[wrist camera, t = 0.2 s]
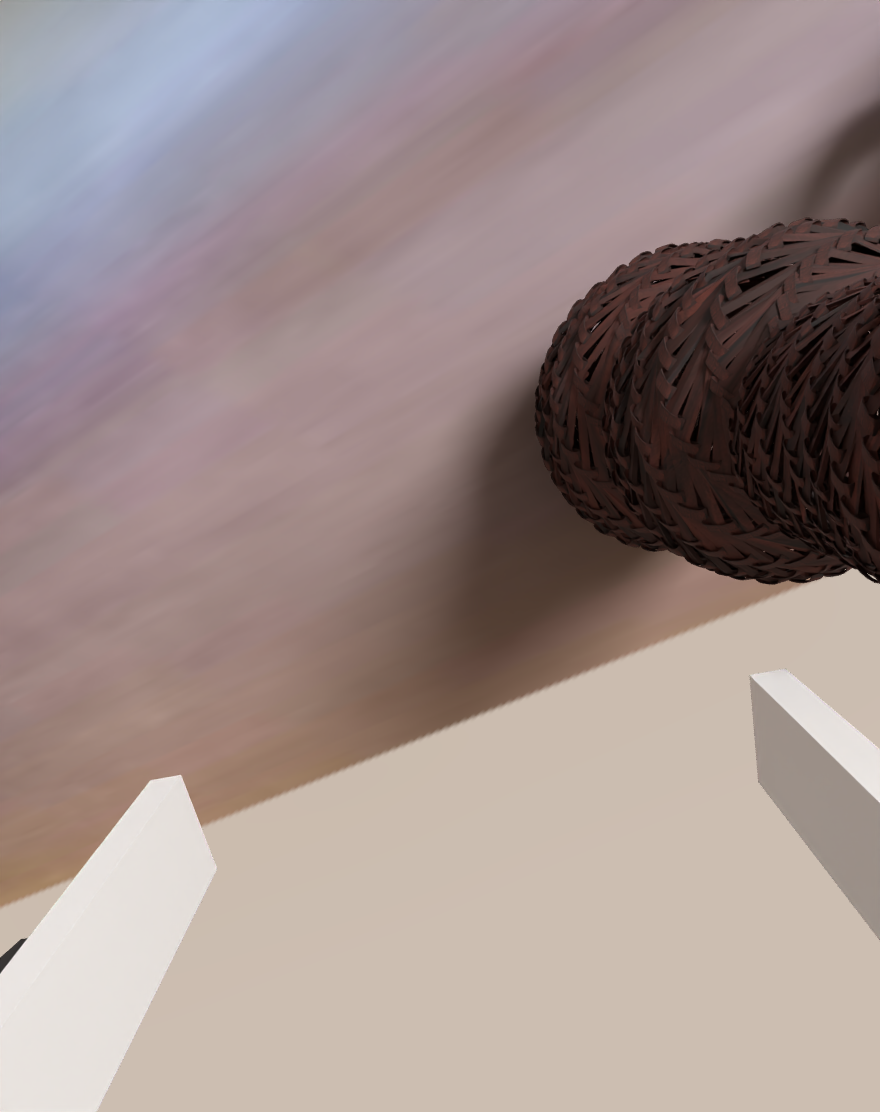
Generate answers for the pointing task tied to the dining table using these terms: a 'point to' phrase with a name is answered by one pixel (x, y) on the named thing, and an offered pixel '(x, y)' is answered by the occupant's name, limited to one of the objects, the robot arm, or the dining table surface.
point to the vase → (728, 403)
